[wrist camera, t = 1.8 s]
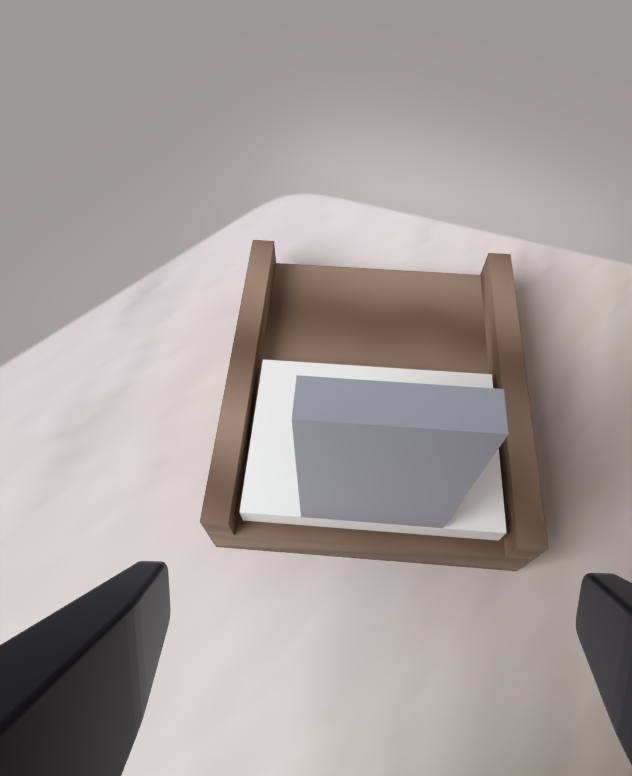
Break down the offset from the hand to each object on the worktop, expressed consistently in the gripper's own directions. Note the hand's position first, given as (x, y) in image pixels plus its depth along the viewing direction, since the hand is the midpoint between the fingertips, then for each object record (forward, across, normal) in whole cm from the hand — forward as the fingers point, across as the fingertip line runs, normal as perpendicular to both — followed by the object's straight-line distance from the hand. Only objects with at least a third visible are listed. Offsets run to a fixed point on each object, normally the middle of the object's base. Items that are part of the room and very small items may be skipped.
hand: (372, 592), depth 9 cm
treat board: (+17, -1, +2) cm, 17 cm away
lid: (+13, -1, +3) cm, 13 cm away
